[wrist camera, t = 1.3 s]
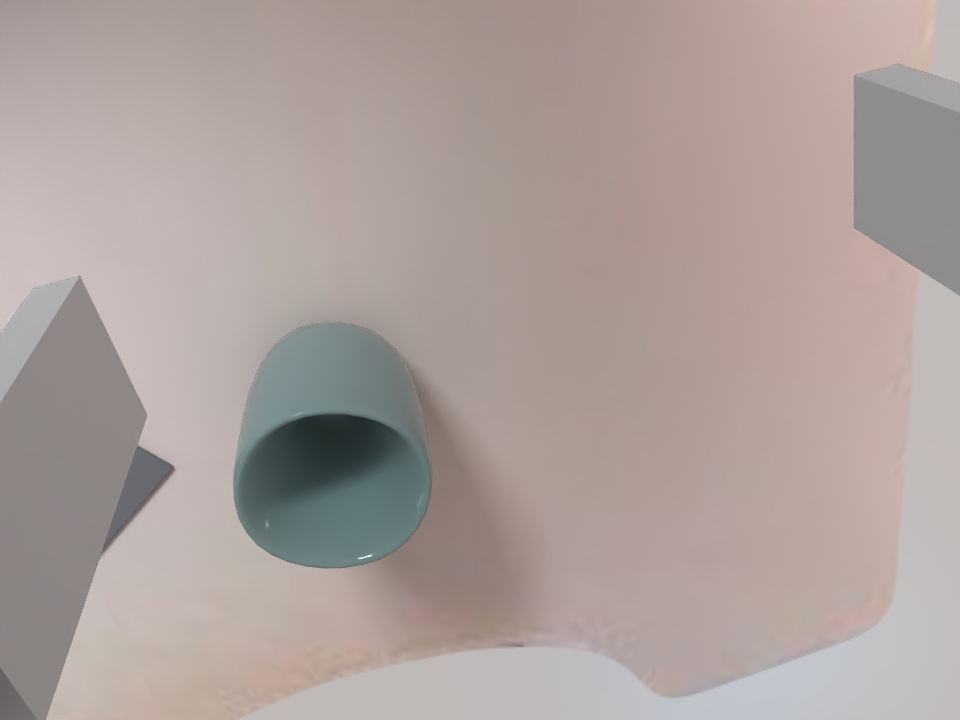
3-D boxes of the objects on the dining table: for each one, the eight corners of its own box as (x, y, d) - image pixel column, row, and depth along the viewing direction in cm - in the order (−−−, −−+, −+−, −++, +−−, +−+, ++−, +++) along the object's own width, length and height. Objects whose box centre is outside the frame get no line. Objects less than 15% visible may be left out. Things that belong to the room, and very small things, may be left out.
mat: (-69, 530, 43) (-70, 533, 43) (41, 390, 41) (39, 392, 41) (62, 592, 46) (61, 595, 46) (172, 465, 44) (171, 467, 44)
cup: (256, 289, 40) (236, 398, 32) (424, 307, 42) (449, 415, 33) (246, 434, 44) (225, 568, 35) (401, 444, 45) (418, 575, 37)
